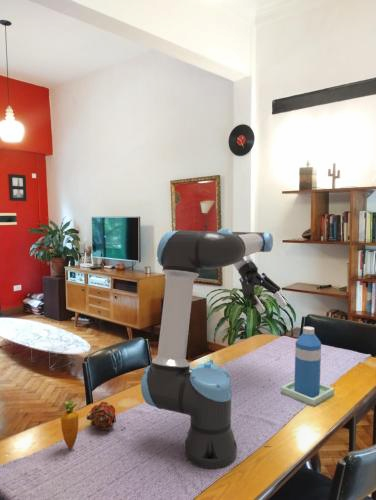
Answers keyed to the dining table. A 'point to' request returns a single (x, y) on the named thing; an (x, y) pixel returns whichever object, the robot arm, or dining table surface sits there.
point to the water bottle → (307, 363)
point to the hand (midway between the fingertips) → (273, 308)
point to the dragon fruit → (102, 416)
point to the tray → (323, 395)
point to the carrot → (69, 424)
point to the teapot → (210, 365)
